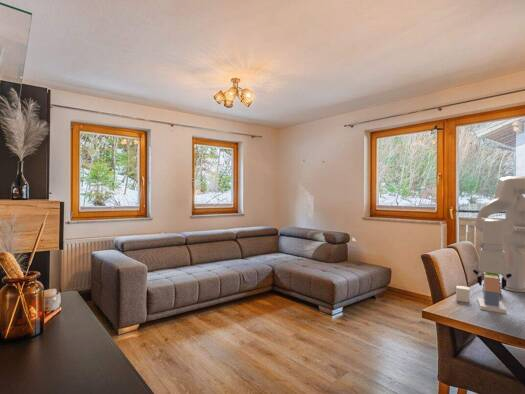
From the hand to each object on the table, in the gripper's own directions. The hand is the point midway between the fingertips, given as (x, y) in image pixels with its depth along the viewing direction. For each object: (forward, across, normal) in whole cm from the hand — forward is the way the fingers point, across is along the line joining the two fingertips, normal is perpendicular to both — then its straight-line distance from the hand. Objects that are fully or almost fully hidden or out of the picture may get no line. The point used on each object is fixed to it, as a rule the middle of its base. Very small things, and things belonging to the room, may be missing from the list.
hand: (491, 286), depth 138 cm
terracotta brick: (+2, 0, 0) cm, 2 cm away
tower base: (+9, 0, 0) cm, 9 cm away
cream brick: (+10, -10, +4) cm, 15 cm away
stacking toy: (+10, +4, +25) cm, 27 cm away
